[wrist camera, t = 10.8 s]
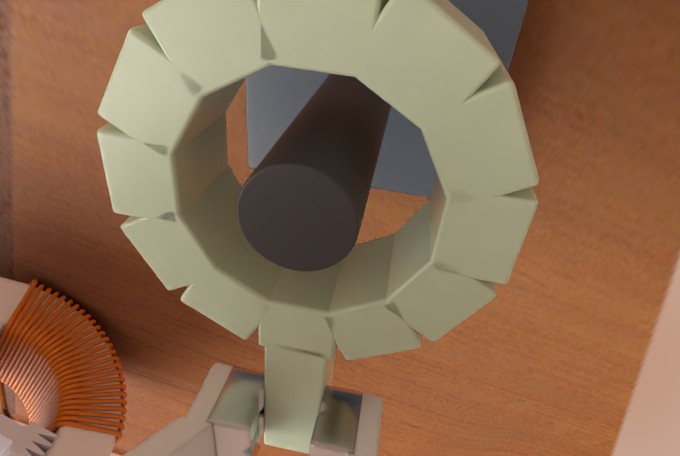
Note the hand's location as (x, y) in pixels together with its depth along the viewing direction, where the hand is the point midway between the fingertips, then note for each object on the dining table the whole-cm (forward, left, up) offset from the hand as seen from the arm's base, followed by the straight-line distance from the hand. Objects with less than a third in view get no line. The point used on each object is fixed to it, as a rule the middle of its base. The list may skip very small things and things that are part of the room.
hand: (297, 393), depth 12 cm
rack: (0, -6, -10) cm, 12 cm away
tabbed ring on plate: (0, -4, -2) cm, 4 cm away
